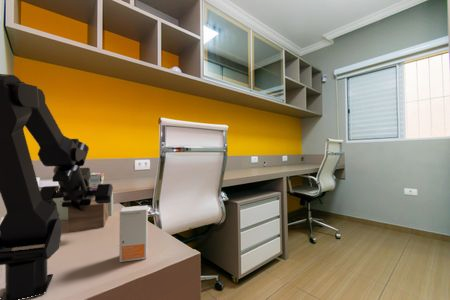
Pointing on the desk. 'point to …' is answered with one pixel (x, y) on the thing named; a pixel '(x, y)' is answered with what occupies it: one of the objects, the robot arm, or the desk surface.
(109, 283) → the desk surface
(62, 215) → the sage board
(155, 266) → the desk surface
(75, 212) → the walnut block
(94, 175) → the candy bar box
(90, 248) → the desk surface
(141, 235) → the skincare box
